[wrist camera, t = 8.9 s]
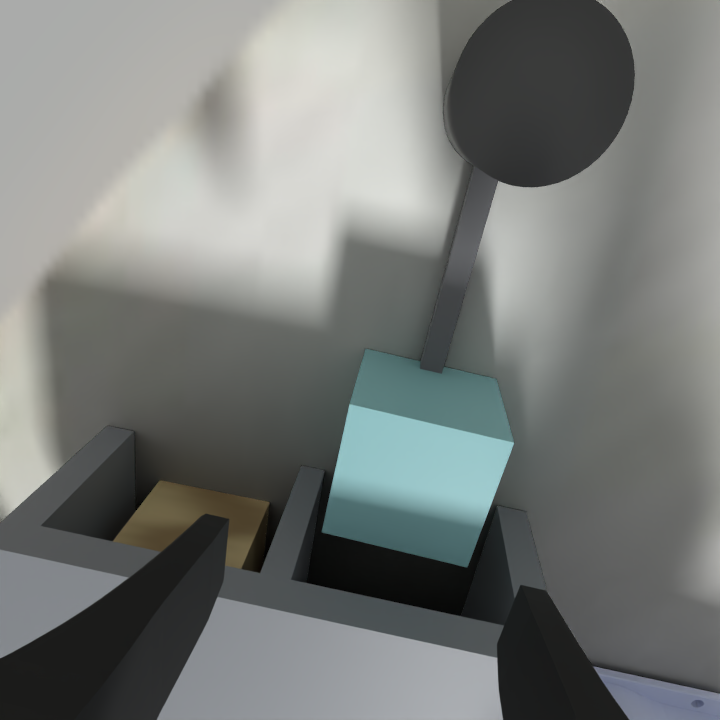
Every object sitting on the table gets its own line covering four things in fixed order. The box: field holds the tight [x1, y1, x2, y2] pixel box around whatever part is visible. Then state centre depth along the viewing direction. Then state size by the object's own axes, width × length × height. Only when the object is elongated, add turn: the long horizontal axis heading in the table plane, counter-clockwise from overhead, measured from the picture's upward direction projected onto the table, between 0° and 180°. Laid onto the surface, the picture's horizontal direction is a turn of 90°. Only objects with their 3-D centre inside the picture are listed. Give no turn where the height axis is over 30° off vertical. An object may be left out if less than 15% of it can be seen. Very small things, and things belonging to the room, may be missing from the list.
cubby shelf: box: [0, 426, 547, 720], centre depth 21 cm, size 18×9×7 cm, turn 81°
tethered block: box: [322, 0, 635, 567], centre depth 16 cm, size 5×16×6 cm, turn 169°
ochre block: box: [113, 480, 270, 573], centre depth 22 cm, size 5×5×4 cm
